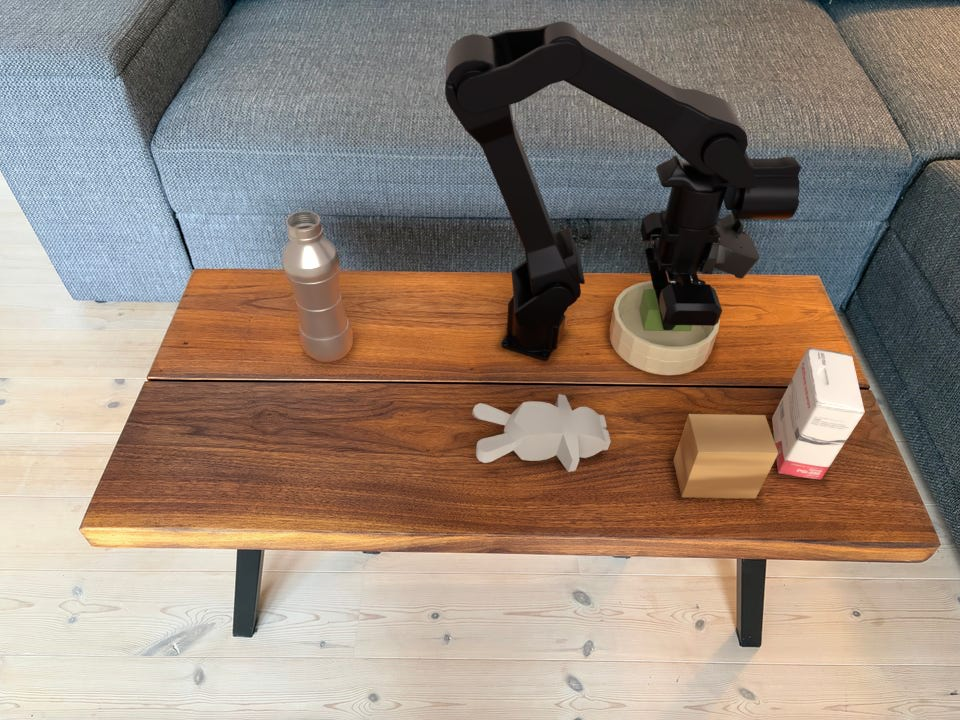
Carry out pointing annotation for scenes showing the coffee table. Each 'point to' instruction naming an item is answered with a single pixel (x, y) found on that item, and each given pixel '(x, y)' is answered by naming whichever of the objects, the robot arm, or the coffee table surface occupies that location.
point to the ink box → (816, 413)
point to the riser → (724, 456)
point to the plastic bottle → (316, 288)
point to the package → (654, 314)
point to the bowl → (656, 339)
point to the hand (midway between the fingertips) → (664, 318)
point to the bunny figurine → (544, 432)
